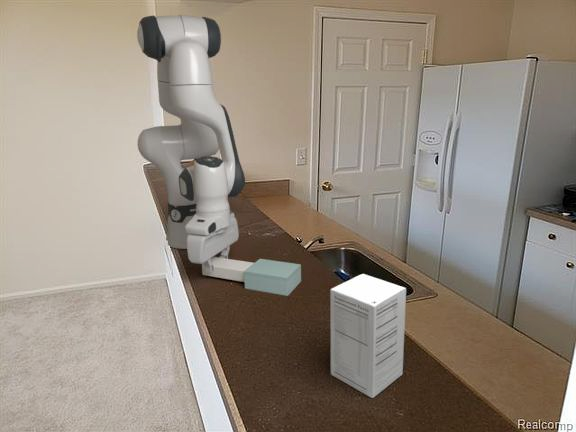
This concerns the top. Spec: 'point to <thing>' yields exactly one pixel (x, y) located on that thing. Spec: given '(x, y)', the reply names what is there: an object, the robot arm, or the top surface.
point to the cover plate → (227, 268)
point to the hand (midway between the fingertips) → (217, 266)
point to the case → (272, 276)
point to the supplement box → (367, 333)
